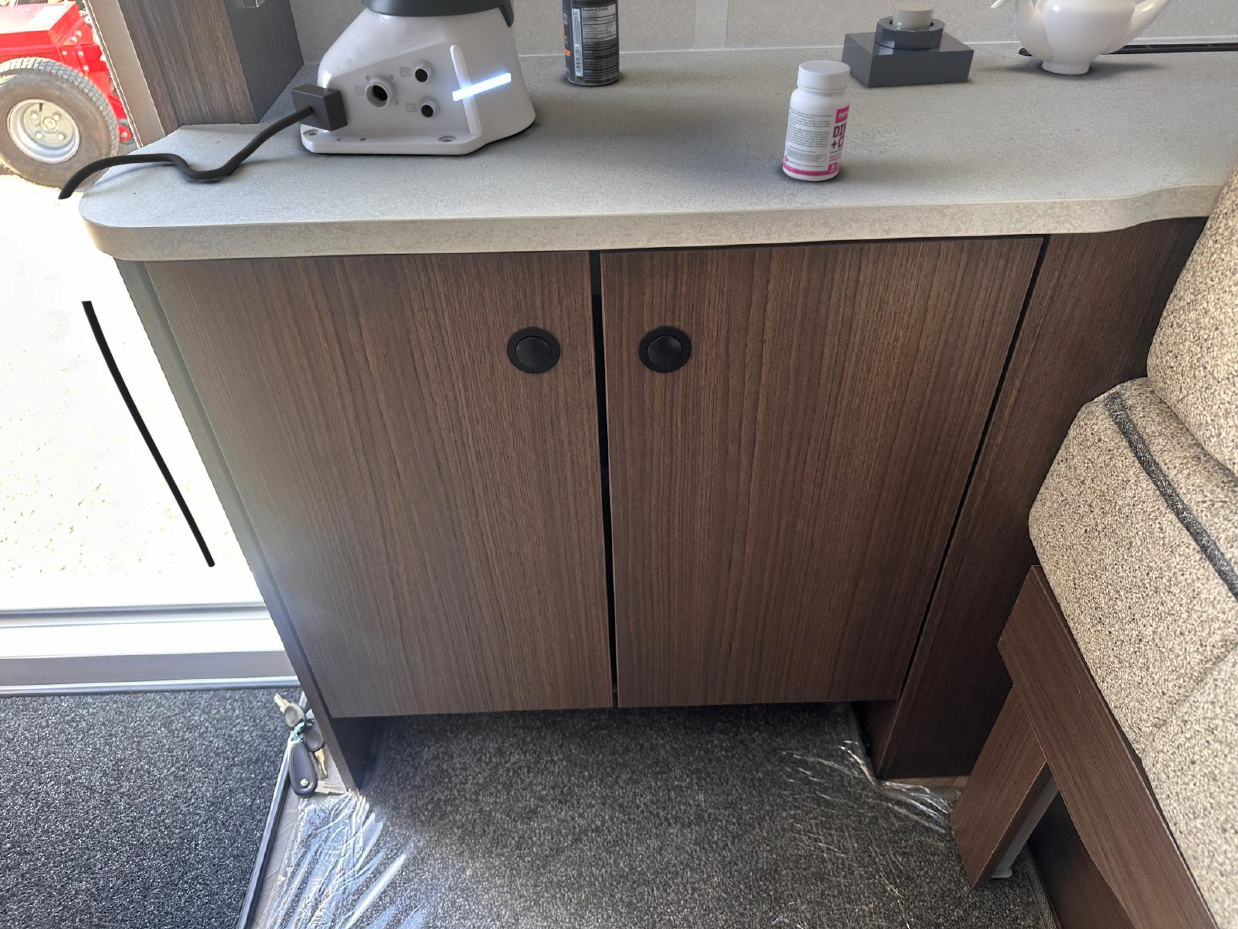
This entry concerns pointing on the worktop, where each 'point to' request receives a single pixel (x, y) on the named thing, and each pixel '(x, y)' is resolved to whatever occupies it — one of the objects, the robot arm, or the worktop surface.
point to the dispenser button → (912, 15)
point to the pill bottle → (817, 121)
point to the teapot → (1079, 29)
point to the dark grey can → (591, 41)
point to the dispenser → (906, 55)
